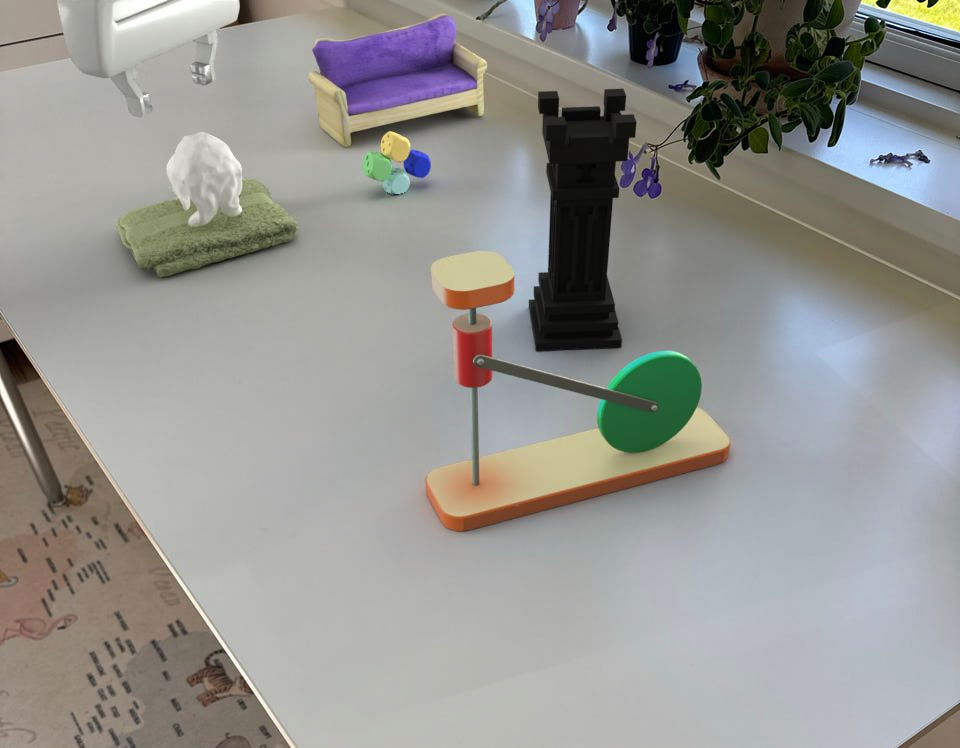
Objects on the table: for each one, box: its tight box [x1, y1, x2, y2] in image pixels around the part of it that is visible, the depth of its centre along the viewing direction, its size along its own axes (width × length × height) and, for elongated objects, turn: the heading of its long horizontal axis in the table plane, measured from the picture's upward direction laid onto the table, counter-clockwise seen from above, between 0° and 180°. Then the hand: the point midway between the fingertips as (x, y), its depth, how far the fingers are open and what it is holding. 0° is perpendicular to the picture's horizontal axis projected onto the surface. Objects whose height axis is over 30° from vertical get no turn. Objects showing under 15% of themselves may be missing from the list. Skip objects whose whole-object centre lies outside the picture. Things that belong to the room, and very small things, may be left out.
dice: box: [361, 130, 432, 195], centre depth 118 cm, size 8×3×6 cm, turn 120°
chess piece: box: [528, 88, 638, 352], centre depth 92 cm, size 8×8×20 cm
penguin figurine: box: [166, 131, 243, 227], centre depth 108 cm, size 6×8×12 cm
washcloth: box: [114, 177, 299, 278], centre depth 112 cm, size 13×18×3 cm
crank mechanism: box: [425, 250, 731, 532], centre depth 77 cm, size 25×7×19 cm, turn 111°
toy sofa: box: [308, 12, 488, 148], centre depth 131 cm, size 21×9×10 cm, turn 118°
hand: (173, 98), depth 102 cm, fingers open, 8 cm apart
